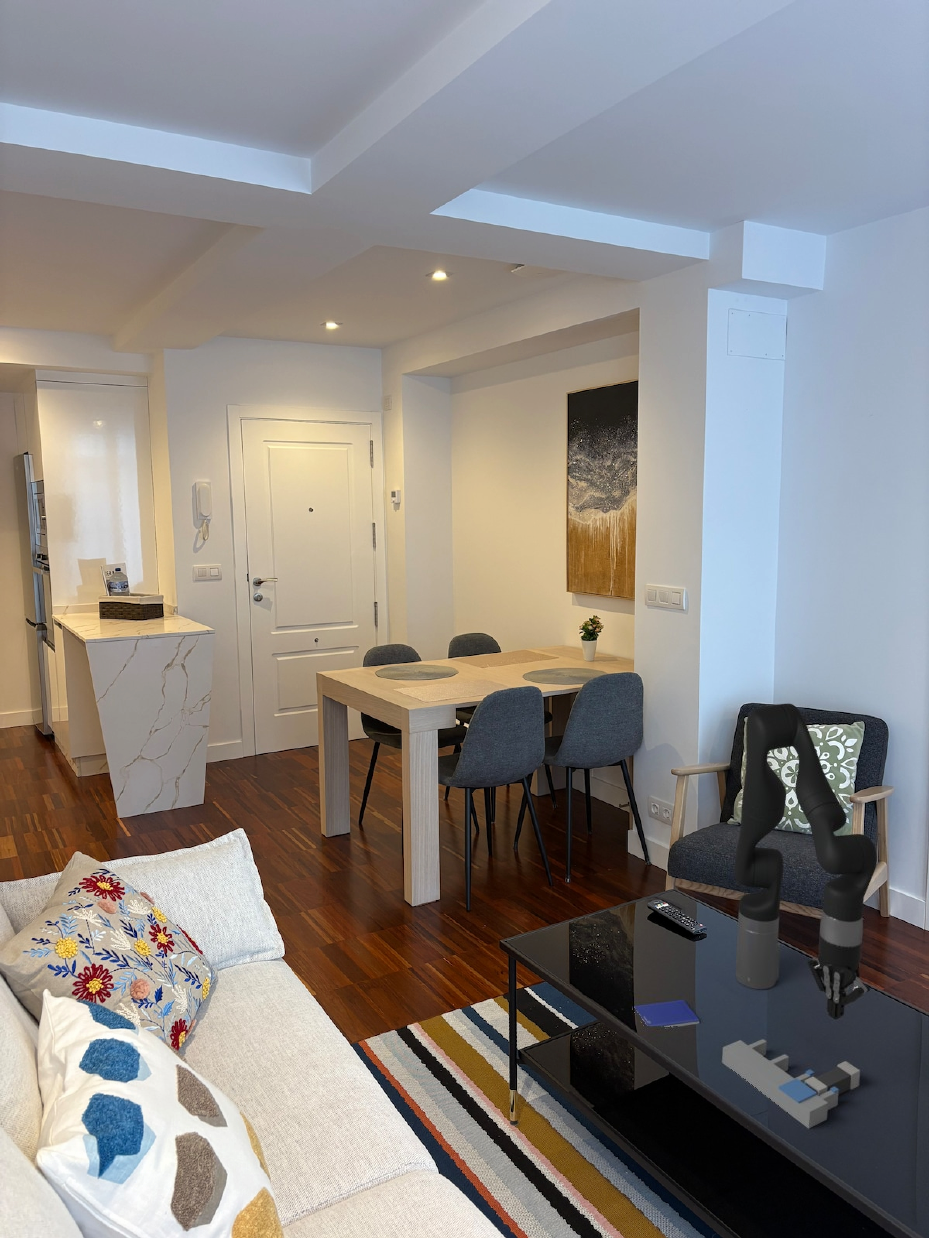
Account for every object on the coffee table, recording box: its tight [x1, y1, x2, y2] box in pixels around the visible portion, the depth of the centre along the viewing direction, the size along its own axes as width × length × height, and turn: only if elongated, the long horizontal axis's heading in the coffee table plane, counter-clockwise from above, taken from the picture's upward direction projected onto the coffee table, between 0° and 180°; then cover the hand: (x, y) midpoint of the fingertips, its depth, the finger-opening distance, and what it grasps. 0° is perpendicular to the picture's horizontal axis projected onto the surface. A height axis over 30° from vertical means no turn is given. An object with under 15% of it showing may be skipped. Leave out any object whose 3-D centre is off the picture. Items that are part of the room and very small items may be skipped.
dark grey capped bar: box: [805, 1060, 861, 1096], centre depth 179 cm, size 12×3×3 cm, turn 119°
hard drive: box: [633, 999, 700, 1028], centre depth 203 cm, size 2×8×12 cm
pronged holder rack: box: [721, 1038, 839, 1130], centre depth 180 cm, size 10×22×4 cm, turn 29°
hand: (834, 1016), depth 176 cm, fingers closed
